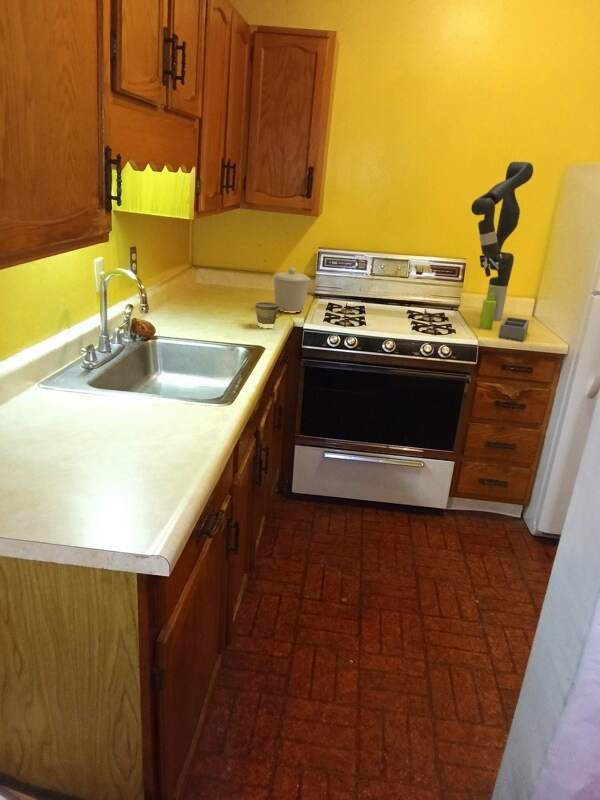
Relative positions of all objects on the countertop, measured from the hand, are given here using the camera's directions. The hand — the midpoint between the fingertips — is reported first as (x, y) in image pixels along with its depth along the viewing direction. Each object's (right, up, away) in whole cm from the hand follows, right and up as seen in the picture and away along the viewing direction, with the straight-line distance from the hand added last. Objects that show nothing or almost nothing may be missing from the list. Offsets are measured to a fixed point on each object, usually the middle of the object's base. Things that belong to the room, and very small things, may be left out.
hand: (494, 276), depth 293 cm
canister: (-97, -16, +7) cm, 99 cm away
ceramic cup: (-106, -28, -26) cm, 112 cm away
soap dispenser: (-3, -25, +2) cm, 25 cm away
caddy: (+6, -29, -9) cm, 31 cm away
